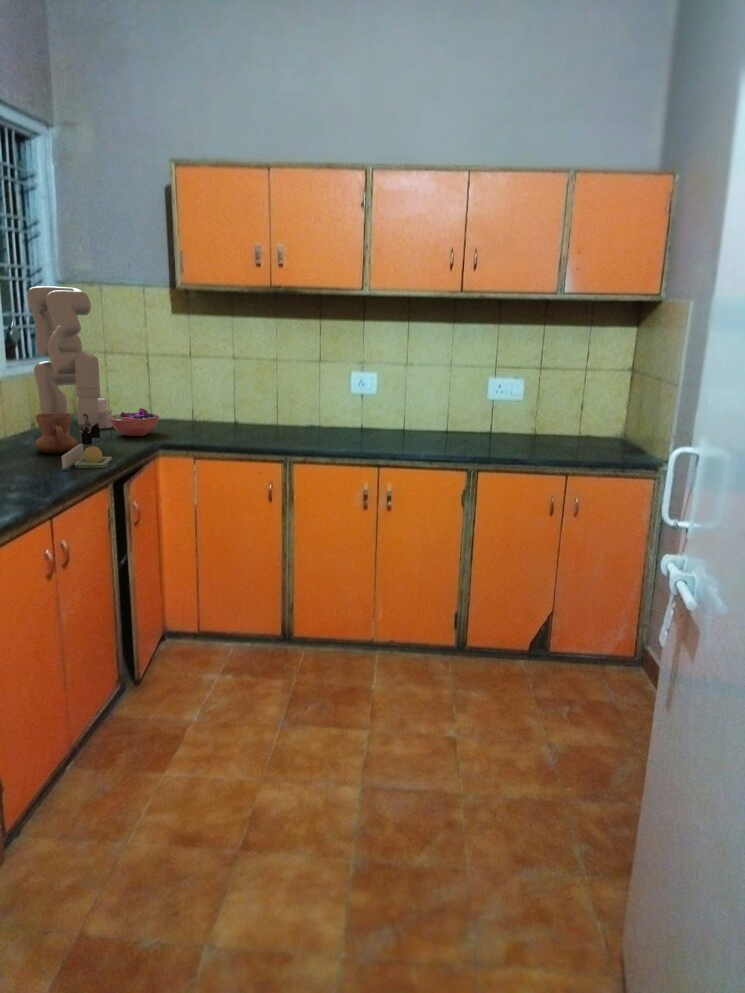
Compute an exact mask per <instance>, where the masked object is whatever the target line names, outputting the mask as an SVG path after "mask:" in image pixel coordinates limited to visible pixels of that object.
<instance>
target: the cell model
mask: <svg viewBox="0 0 745 993" xmlns="http://www.w3.org/2000/svg"><path fill="white" fill-rule="evenodd" d="M160 417H161V415H158V414H154V413H149V412H148V410H147V409H145V408H139V409H138V412H123V411H121V413H119V414H115V415H112V417H110V418H111V423H112V427H113V428H114V429H115V430H116V431H117V432H118V433H119V434H121V435H123V436H127V437H142V436H146V435H148V434H150V433H151V432H153V431H154V429H155V427H156V426H157V425H158V422H159V420H160Z"/></svg>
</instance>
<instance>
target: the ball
mask: <svg viewBox="0 0 745 993" xmlns="http://www.w3.org/2000/svg"><path fill="white" fill-rule="evenodd" d="M102 457H103V452H102V450H101V449H100V448H99V447H97V446H93V445H92V446H91V445H90V446H88V447H86V448H85V449H84V458H85V460H86V461H87V462H89V463H97V462H99V461H100V460H101V458H102Z"/></svg>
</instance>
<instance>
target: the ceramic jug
mask: <svg viewBox="0 0 745 993" xmlns="http://www.w3.org/2000/svg"><path fill="white" fill-rule="evenodd" d="M72 419H73V417H72V413H70V412H67V413H63V412H54V413H51V412H48V413H41V412H40V413H37V414H36V415H35V420H36V423H37V425H38V427H39V429H40V430H41V433H42V435H41V436H40V437H39V438H37V439H36V441H35V442H34V447H35V449H36V450H37V451H39V452H41V453H44V454H52V455H60V454H59V453H61V454H66V453H67V452H69V451H70V450H71V449H73V448H74V447H76V446H77V445H78V440H77V439H76V438H74V436H71V435H70V433H69V434H68V431H69V432H70V429H71V428H70V427H71V423H72Z"/></svg>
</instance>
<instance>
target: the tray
mask: <svg viewBox="0 0 745 993" xmlns="http://www.w3.org/2000/svg"><path fill="white" fill-rule="evenodd" d="M84 460H85V458H84V456H83V457H81V458H80V459H79V460H77V461H76V462H75V463H74V465H106V464H107V463H108V462H109V461H111V460H112V461H113V457H112V456H102V458H101V460H105V461H104V462H102V463H86V462H82V461H84ZM74 465H73V466H74Z"/></svg>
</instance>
